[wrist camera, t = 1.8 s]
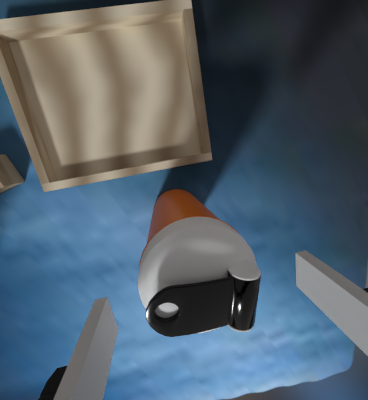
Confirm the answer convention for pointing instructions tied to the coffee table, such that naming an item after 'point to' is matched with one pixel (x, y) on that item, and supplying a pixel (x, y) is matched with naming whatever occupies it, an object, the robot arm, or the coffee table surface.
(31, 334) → the coffee table surface
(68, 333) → the coffee table surface
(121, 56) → the tray
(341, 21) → the coffee table surface
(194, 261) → the shaker bottle
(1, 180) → the oak block
